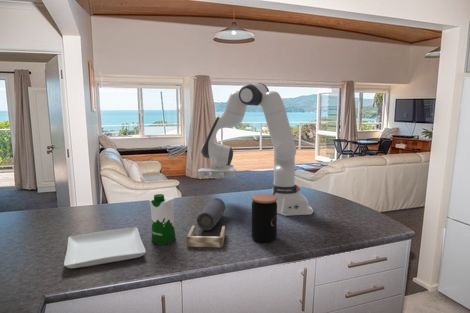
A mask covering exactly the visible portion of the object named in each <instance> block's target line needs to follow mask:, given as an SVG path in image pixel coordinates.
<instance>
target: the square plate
mask: <svg viewBox="0 0 470 313" xmlns="http://www.w3.org/2000/svg"><path fill="white" fill-rule="evenodd" d="M146 252H147V251H146V248H145V245H144V243H143V241H142V238H141V235H140V232H139V229H138V227H136V226H135V227H125V228H118V229H117V228H116V229H109V230H102V231H95V232H90V233H82V234H77V235H71V236H68V238H67V247H66V252H65V257H64V262H63V267H66V268H68V269H77V268H86V267H93V266H98V265H104V264H109V263H116V262H120V261H126V260H131V259H137V258H140V257H143V256H144V255H145V254H146Z"/></svg>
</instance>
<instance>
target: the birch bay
mask: <svg viewBox="0 0 470 313" xmlns="http://www.w3.org/2000/svg"><path fill="white" fill-rule="evenodd" d="M219 234H220V235H219V236H213V235H212V236H208V235H206V236H205V235H204V236H203V235H202V236H201V235H200V236H199V235H196V226H195V225H191V227H190V230H189V232H188V234H187V235H186V248H189V247H190V248H193V247H194V248H195V247H196V248H197V247H198V248H223V247H224V244H225V243H224V242H225V237H226V226H225V225H222V226H221V231H220V233H219Z"/></svg>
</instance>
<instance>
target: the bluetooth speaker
mask: <svg viewBox="0 0 470 313" xmlns="http://www.w3.org/2000/svg"><path fill="white" fill-rule="evenodd" d="M225 210H226V204H225V202H224V201H223V199H220V198H213V199H212V200H210V201H209V202H207V204H206V205H205V206H204V207H203V209H202V210H200V212H199V213H198V215H197V218H196V224H197V226H198V228H199V229H200V230H202V231H210V230H212V229H213V228H214V227H216V225H217V224H218V222H219V221H220V219H221V217H222V216H223V214H224V213H225Z"/></svg>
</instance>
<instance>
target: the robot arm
mask: <svg viewBox="0 0 470 313" xmlns="http://www.w3.org/2000/svg"><path fill="white" fill-rule="evenodd" d="M248 106H250V107H251V106H253V107H254V106H257V107H258V106H260V107H261V109H262V111H263V114H264V119H265V121H266V125H267V129H268V132H269V136H270V139H271V145H272V147H273V184H272V195H274V196H276V197H277V201H276V202H277V215H278V214H279V215H281V216H285V217H287V216H307V215H313V213H314V210H313V208H312V207H311V206H310V205H309V201H308V199H307V197H305V196H304V195H303V194H302V193H300V191H301V188H300V187H299V185H297V184H296V183H295V182H296V180H295V179H296V164H295V160H296V159H295V158H296V154H297V147H296V142H295V139H294V135H293V132H292V129H291V126H290V122H289V119H288V118H289V117H288V115H287V110H286V107H285V103H284V101H283V99H282V97H281V95H280V93H279V92H278V91H274V90H269V88H268V86H267V85H265V84H264V83H261V82H260V83H259V82H258V83H257V82H252V83H247V84H244V85H243V86H241V88H239V90H235V91H232V92H231V93H230V95H229V97H228V99H227V102H226V105H225V108H224V111H223V112H222V114H220V115H218V116H216V118H215V120H214V122H213V124H212V126H211V128H210V130H209V133H208V134H207V138H206V139H205V141H204V142H203V144H202V146H201V148H200V153H201V155H202V156H203V158H205V159H211V160H215V161H213V163H212V164H211V166H210V167H209V168H208V167H201V168H199V169H198V170H197V177H199V178H213V179H215V180H216V179H219V180H220V179H224V178H236V168H235V167H234V165H232V164H231V163H232V161H233V157H234V150H233V148H232V147H231V146H229V145H225V144H222V143H218V142H215V141H214V140H215V138H216V135H217V134H218V131H220V129H224V128H226V129H227V128H234V127H237V126H239V125H240V124H241V123H242V122H243V120H244V117H245V113H246V109H247V108H248Z"/></svg>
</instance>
